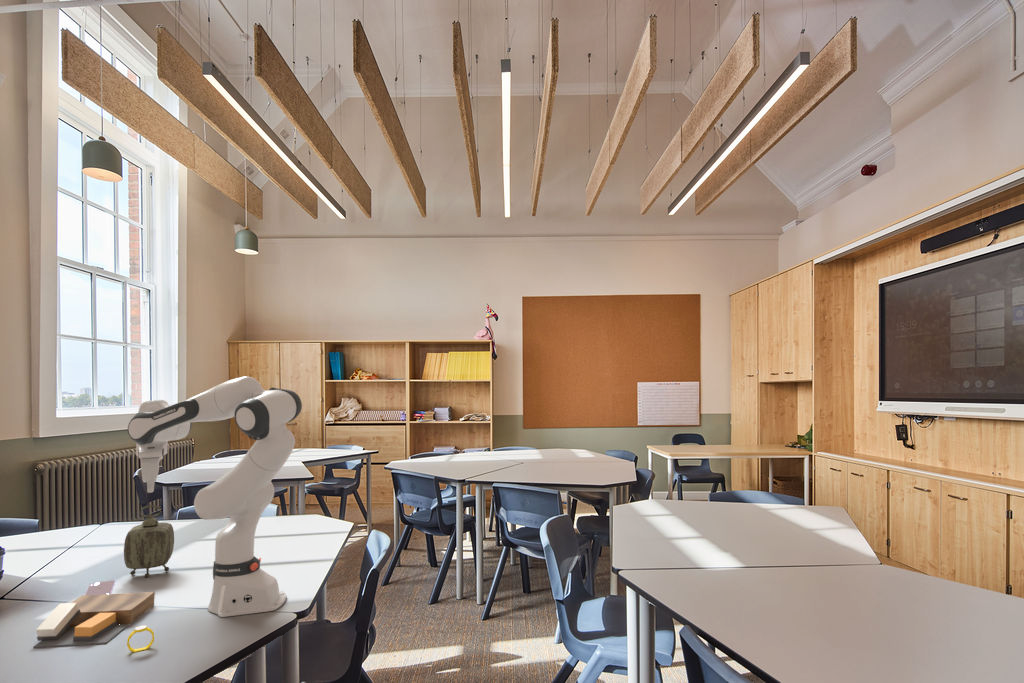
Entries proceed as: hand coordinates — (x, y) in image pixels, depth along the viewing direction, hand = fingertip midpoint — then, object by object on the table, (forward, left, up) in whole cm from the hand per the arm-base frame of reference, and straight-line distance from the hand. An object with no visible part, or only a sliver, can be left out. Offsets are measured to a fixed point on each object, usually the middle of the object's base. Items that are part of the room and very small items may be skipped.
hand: (150, 491), depth 190 cm
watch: (-16, +38, -34) cm, 54 cm away
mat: (+4, +27, -34) cm, 44 cm away
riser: (+5, +13, -34) cm, 37 cm away
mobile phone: (+19, -10, -35) cm, 41 cm away
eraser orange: (+1, +26, -34) cm, 43 cm away
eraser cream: (+11, +25, -32) cm, 42 cm away
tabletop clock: (+10, -22, -34) cm, 42 cm away
